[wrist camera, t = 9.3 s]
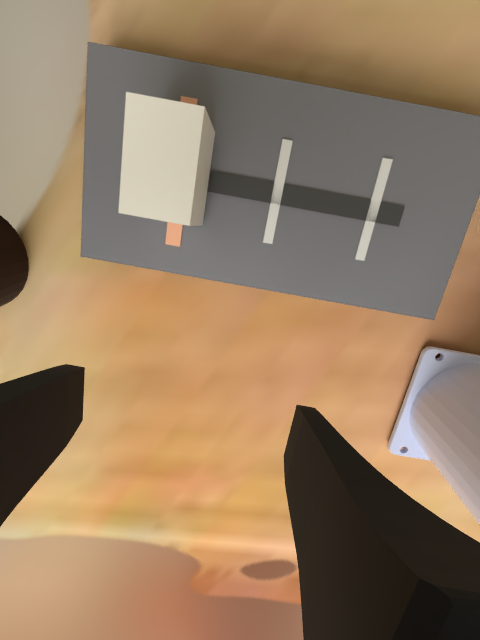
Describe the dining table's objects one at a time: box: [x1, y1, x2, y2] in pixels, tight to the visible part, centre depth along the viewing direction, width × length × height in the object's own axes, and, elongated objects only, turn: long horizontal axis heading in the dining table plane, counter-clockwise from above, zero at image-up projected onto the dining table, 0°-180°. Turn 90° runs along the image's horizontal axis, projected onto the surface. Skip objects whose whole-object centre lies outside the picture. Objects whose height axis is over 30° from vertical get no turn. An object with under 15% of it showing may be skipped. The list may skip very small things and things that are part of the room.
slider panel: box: [81, 42, 480, 320], centre depth 18 cm, size 20×10×2 cm, turn 80°
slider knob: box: [118, 92, 215, 226], centre depth 15 cm, size 3×4×4 cm
